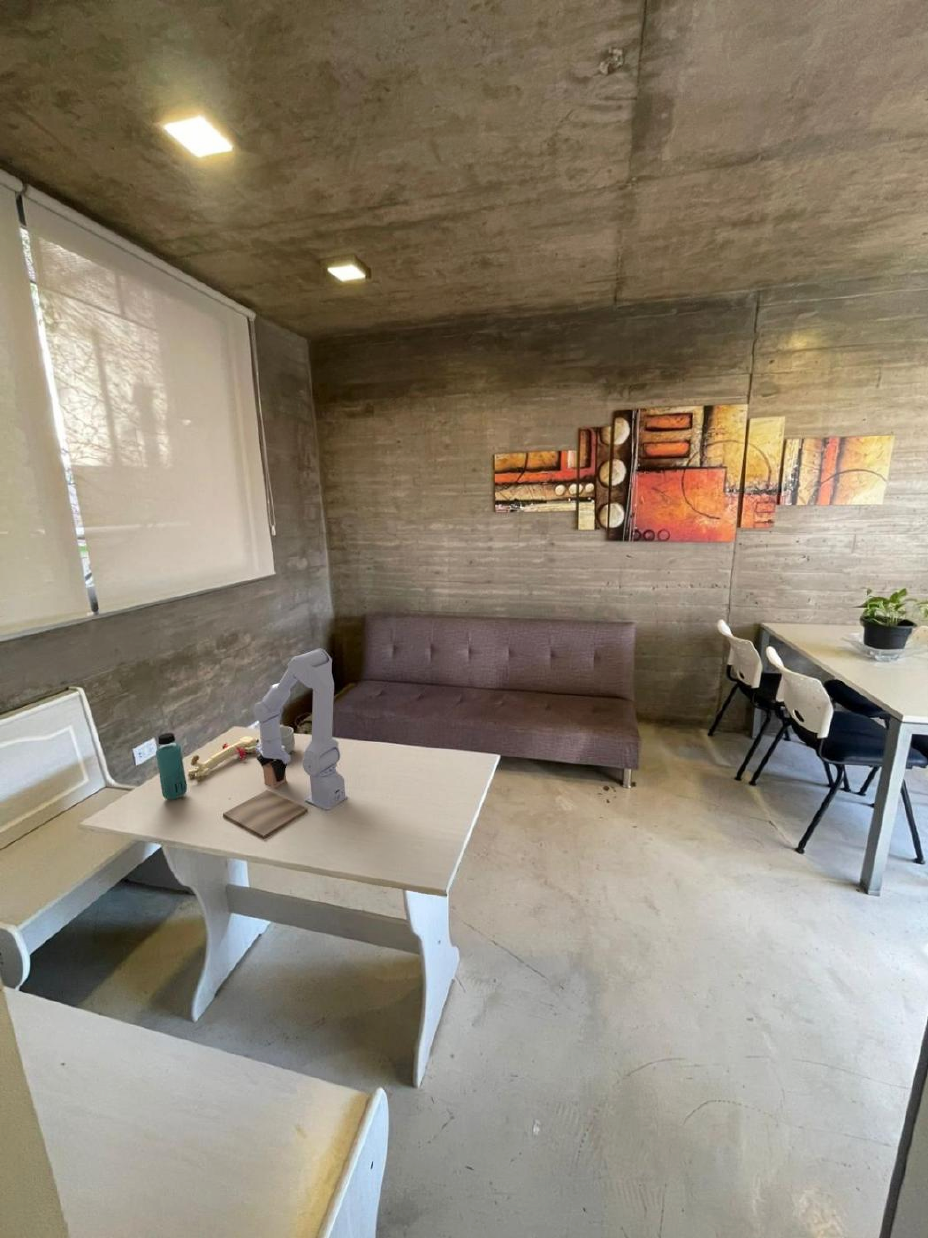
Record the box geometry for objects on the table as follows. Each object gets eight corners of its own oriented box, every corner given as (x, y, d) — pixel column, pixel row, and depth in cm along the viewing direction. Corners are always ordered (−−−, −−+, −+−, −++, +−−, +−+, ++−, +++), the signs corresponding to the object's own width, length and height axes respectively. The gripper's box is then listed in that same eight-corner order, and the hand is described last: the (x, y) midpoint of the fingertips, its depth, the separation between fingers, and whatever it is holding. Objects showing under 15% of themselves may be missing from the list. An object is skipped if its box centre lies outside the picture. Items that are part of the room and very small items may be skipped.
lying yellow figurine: (206, 787, 152) (267, 746, 174) (200, 762, 150) (263, 724, 171) (185, 780, 156) (247, 741, 178) (179, 756, 154) (243, 720, 176)
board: (307, 811, 136) (307, 808, 136) (263, 839, 125) (263, 835, 125) (267, 792, 146) (267, 789, 146) (223, 817, 134) (222, 813, 134)
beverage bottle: (176, 805, 140) (167, 740, 136) (157, 802, 142) (147, 738, 137) (193, 792, 146) (184, 730, 142) (174, 790, 148) (165, 729, 144)
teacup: (288, 761, 165) (286, 739, 163) (257, 761, 165) (254, 739, 163) (303, 742, 178) (301, 722, 177) (273, 742, 179) (271, 722, 177)
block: (286, 781, 152) (284, 763, 151) (273, 787, 149) (272, 769, 147) (277, 777, 155) (275, 759, 153) (264, 783, 151) (262, 766, 150)
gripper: (297, 738, 148) (301, 778, 151) (267, 727, 156) (271, 766, 158) (277, 747, 142) (281, 789, 145) (247, 735, 150) (252, 776, 153)
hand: (275, 778), depth 151 cm, fingers closed on block, 4 cm apart
